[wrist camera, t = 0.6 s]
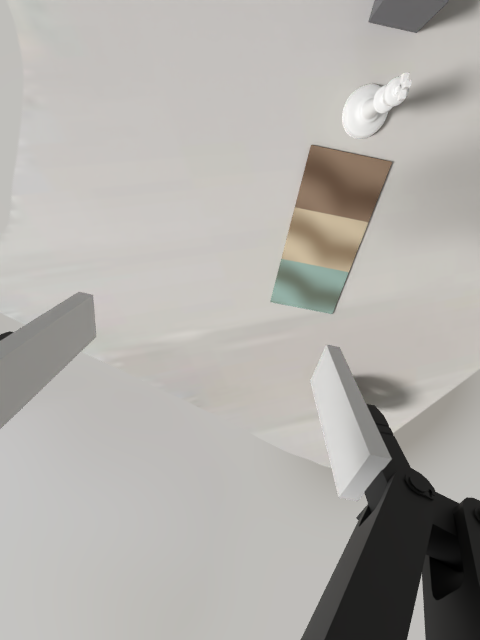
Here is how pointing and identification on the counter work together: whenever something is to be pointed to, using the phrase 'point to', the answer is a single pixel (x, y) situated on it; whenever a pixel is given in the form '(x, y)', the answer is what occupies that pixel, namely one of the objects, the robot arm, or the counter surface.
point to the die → (405, 13)
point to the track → (327, 227)
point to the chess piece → (373, 106)
